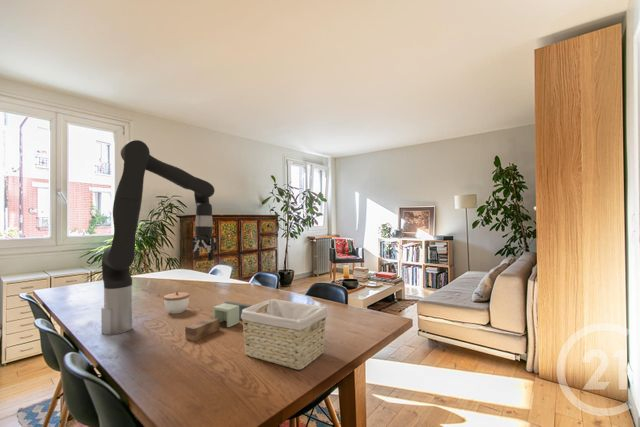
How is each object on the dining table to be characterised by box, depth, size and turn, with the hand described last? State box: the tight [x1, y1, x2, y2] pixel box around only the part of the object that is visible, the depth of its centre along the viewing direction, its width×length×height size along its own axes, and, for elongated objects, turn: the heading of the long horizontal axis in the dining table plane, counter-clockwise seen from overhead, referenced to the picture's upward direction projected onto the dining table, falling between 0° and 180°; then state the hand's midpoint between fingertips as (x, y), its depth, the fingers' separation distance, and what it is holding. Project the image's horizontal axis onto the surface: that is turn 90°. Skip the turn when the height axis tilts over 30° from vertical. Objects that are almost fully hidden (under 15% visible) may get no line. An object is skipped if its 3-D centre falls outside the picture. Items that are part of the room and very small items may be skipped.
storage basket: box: [240, 298, 328, 370], centre depth 97 cm, size 24×16×15 cm
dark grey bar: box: [224, 301, 254, 320], centre depth 133 cm, size 5×16×6 cm, turn 63°
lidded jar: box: [163, 291, 190, 315], centre depth 142 cm, size 11×11×9 cm
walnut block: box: [184, 316, 221, 342], centre depth 114 cm, size 12×4×4 cm, turn 152°
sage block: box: [212, 302, 240, 328], centre depth 125 cm, size 6×8×7 cm
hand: (203, 260), depth 142 cm, fingers open, 8 cm apart
